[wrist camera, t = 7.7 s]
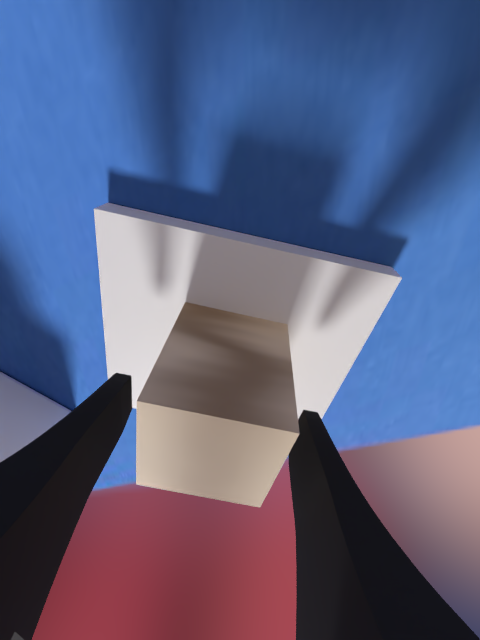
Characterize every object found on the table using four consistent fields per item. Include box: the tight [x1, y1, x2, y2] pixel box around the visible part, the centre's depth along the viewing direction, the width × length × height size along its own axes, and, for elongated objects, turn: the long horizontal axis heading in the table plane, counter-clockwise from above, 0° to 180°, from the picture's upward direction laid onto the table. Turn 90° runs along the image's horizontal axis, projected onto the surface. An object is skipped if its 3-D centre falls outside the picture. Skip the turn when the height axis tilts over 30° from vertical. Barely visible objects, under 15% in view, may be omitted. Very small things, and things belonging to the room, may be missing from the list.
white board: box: [94, 203, 402, 419], centre depth 15 cm, size 13×12×1 cm
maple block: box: [136, 302, 300, 507], centre depth 12 cm, size 5×5×6 cm
